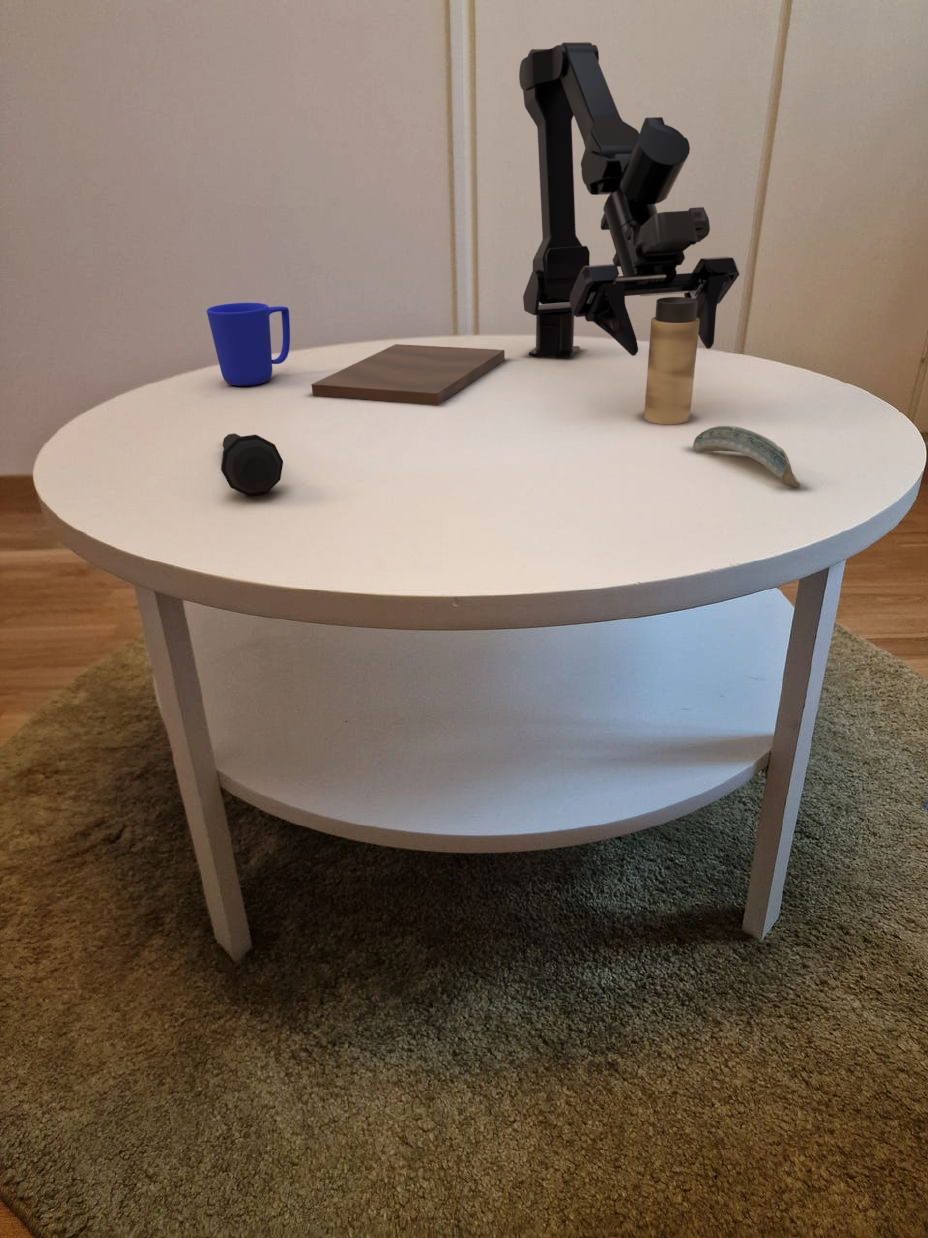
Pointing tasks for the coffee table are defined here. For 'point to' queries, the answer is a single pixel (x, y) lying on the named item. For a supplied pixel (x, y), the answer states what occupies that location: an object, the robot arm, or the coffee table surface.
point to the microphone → (251, 464)
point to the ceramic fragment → (748, 449)
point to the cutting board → (410, 374)
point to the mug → (246, 341)
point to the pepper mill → (671, 360)
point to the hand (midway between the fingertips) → (673, 349)
